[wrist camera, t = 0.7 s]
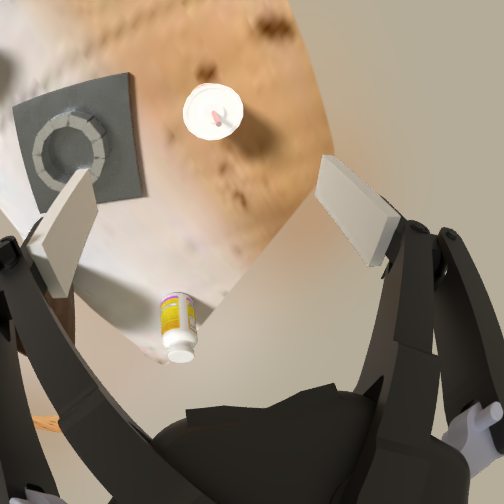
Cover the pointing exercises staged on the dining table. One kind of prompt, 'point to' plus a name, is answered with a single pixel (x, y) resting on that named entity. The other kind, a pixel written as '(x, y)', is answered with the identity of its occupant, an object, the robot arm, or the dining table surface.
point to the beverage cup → (212, 111)
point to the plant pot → (58, 316)
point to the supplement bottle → (178, 327)
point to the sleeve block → (80, 140)
